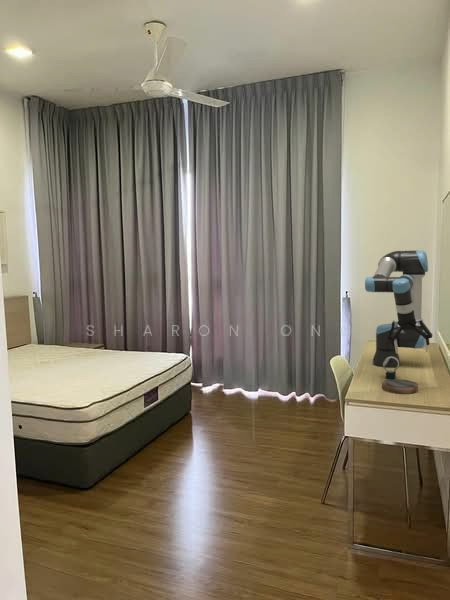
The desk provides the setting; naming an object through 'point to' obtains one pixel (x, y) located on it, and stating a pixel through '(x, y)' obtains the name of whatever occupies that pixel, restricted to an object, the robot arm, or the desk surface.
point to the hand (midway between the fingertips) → (411, 351)
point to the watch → (390, 373)
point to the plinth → (400, 386)
